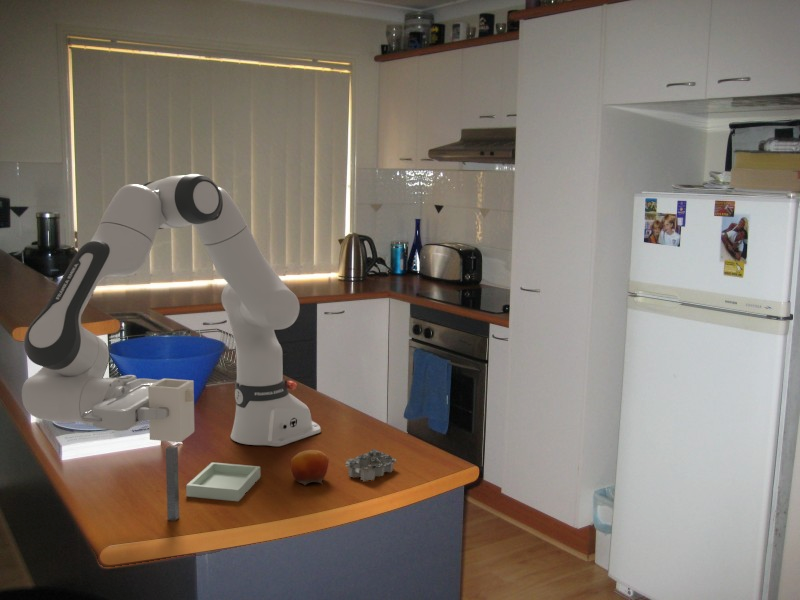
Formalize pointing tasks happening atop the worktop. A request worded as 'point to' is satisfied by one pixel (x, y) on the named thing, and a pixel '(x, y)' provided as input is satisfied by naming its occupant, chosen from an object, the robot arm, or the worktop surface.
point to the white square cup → (172, 409)
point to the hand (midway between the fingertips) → (176, 407)
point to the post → (172, 483)
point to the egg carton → (368, 472)
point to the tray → (223, 481)
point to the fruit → (309, 466)
